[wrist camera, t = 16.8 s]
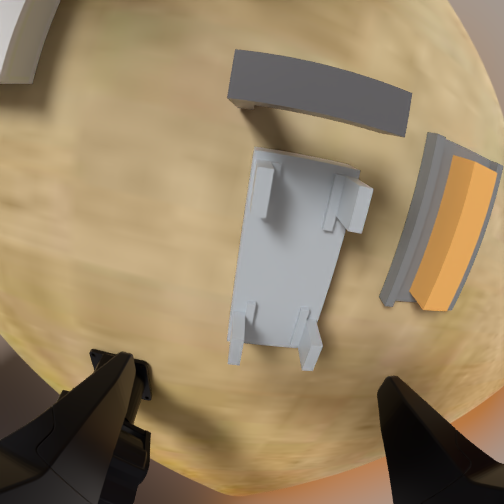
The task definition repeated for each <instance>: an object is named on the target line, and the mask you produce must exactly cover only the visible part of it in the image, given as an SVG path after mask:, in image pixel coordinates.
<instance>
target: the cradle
mask: <svg viewBox="0 0 504 504" xmlns="http://www.w3.org/2000/svg"><path fill="white" fill-rule="evenodd" d="M359 174H360V170H359V169H357V168H355V167H353V166H351V165H349V164H346V163H341V162H337V161H332V160H327V159H323V158H318V157H313V156H308V155H303V154H297V153H292V152H286V151H280V150H274V149H268V148H262V147H255V146H254V152H253V159H252V165H251V172H250V178H249V185H248V192H247V198H246V205H245V212H244V219H243V226H242V232H241V239H240V246H239V253H238V260H237V267H236V275H235V282H234V289H233V296H232V303H231V311H230V318H229V327H228V336H227V341H230V345H229V356H228V364H232V365H240V360H241V354H242V349H243V343H249V344H258V345H268V346H279V347H291V348H298V350H299V356H300V362H301V368H302V370H304V371H313V369H314V366H315V364H316V362H317V359H318V357H319V354H320V352H321V349H322V347H323V345H322V341H321V337H320V333H319V330H318V326H317V322H318V319H319V316H320V313H321V310H322V307H323V304H324V301H325V298H326V295H327V292H328V288H329V285H330V282H331V279H332V276H333V272H334V269H335V266H336V262H337V259H338V256H339V252H340V249H341V245H342V242H343V238H344V234H345V231H346V229H347V230H348V231H350V232H355V233H361V234H362V230H363V227H364V223H365V220H366V216H367V212H368V209H369V205H370V201H371V197H372V193H373V188H371V187H370V186H368V185H367V184H365V183H363V182H362V181H360V180H359Z"/></svg>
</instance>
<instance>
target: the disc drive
mask: <svg viewBox="0 0 504 504" xmlns="http://www.w3.org/2000/svg"><path fill="white" fill-rule="evenodd" d="M60 1H61V0H0V84H33V80H34V76H35V72H36V68H37V65H38V61H39V58H40V55H41V51H42V48H43V45H44V42H45V39H46V36H47V33H48V31H49V28H50V25H51V23H52V20H53V17H54V15H55V13H56V10H57V8H58V5H59V3H60Z"/></svg>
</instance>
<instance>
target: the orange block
mask: <svg viewBox="0 0 504 504" xmlns="http://www.w3.org/2000/svg"><path fill="white" fill-rule="evenodd" d="M496 177H497V173H496V172H495V171H493V170H491V169H489V168H487V167H485V166H483V165H481V164H479V163H477V162H475V161H472V160H469V159H465V158H462V157H459V156H455V155H453V157H452V162H451V166H450V171H449V175H448V179H447V183H446V186H445V190H444V194H443V197H442V201H441V204H440V208H439V211H438V214H437V218H436V221H435V224H434V227H433V230H432V233H431V236H430V239H429V242H428V244H427V247H426V250H425V253H424V255H423V258H422V261H421V263H420V266H419V268H418V271H417V273H416V276H415V278H414V281H413V283H412V286H411V288H410V290H409V292H410V293H411V294H412V296H413V297H414V298H415V300H416V301H417V302H418V304H419V305H420V307H421V308H422V309H423V310H432V311H447V310H448V308H449V306H450V304H451V302H452V300H453V298H454V296H455V293H456V291H457V289H458V287H459V285H460V283H461V280H462V278H463V276H464V273H465V271H466V269H467V266H468V264H469V261H470V259H471V256H472V254H473V251H474V249H475V246H476V243H477V241H478V238H479V235H480V232H481V229H482V226H483V223H484V220H485V217H486V214H487V211H488V207H489V204H490V200H491V197H492V193H493V189H494V185H495V181H496Z"/></svg>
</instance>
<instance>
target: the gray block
mask: <svg viewBox="0 0 504 504" xmlns="http://www.w3.org/2000/svg"><path fill="white" fill-rule="evenodd" d="M227 98H228V99H229V100H230V101H231V102H232V103H233V104H234V105H235V106H236V107H238V108H243V109H250V110H254V105H256V106H263V107H269V108H275V109H281V110H287V111H292V112H298V113H303V114H307V115H312V116H317V117H321V118H326V119H330V120H334V121H338V122H342V123H346V124H350V125H354V126H357V127H361V128H365V129H368V130H372V131H375V132H378V133H382V134H388V135H394V136H400V137H405V133H406V128H407V122H408V117H409V111H410V104H411V98H412V93H410V92H408V91H405V90H403V89H400V88H398V87H395V86H392V85H390V84H387V83H384V82H381V81H378V80H375V79H372V78H369V77H366V76H363V75H360V74H356V73H353V72H350V71H346V70H343V69H339V68H335V67H331V66H328V65H324V64H319V63H315V62H311V61H306V60H301V59H296V58H291V57H286V56H280V55H274V54H268V53H261V52H254V51H246V50H236V49H235V54H234V60H233V65H232V71H231V77H230V84H229V90H228V96H227Z"/></svg>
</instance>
